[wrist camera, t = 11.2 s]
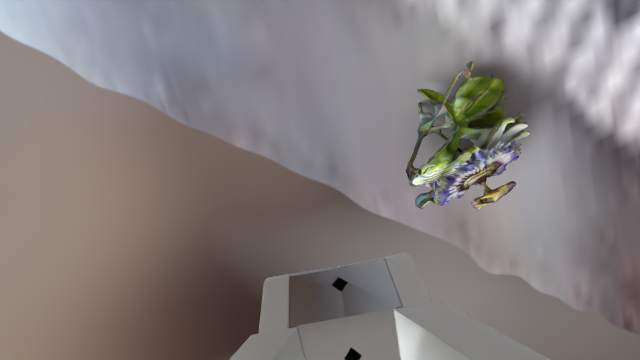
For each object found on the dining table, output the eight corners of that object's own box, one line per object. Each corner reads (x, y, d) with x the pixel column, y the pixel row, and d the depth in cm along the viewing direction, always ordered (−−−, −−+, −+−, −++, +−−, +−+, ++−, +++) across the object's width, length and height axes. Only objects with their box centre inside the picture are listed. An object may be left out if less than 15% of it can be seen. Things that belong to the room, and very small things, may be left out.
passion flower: (440, 146, 47) (431, 238, 40) (381, 83, 41) (359, 176, 35) (545, 107, 39) (555, 212, 32) (488, 24, 34) (487, 128, 27)
